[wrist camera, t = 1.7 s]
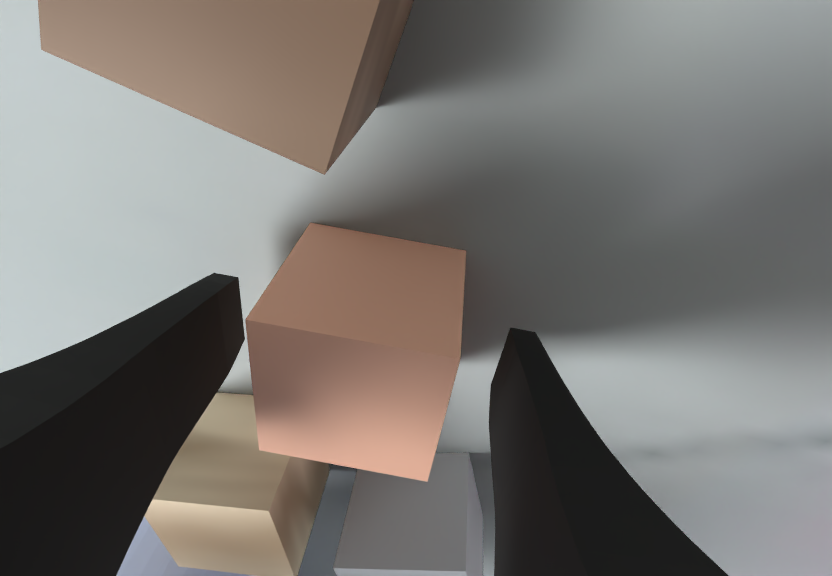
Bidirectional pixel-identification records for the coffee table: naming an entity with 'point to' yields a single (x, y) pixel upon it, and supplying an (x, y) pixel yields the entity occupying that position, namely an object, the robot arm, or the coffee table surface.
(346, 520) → the slate cube
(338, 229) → the terracotta cube
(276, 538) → the beech cube
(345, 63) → the walnut cube
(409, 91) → the coffee table surface
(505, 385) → the robot arm
